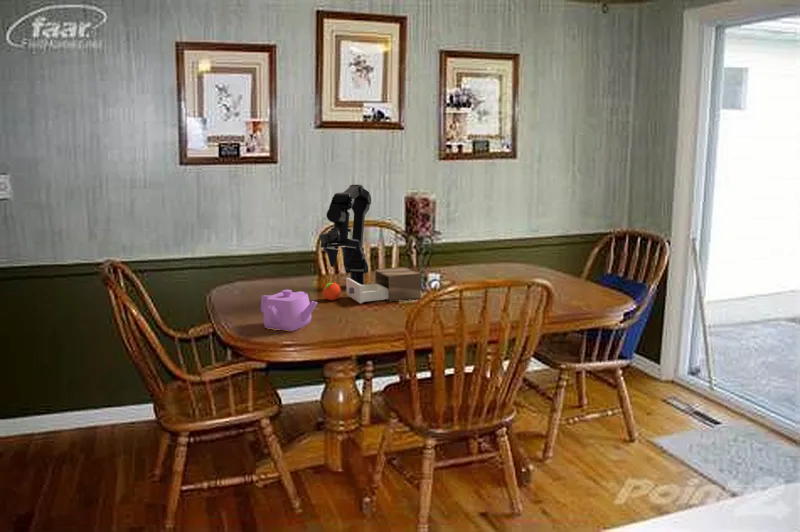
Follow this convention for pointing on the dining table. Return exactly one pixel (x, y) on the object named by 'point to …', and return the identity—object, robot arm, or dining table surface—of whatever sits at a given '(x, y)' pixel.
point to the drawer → (366, 291)
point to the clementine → (331, 291)
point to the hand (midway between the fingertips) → (338, 266)
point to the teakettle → (287, 310)
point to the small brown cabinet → (399, 283)
